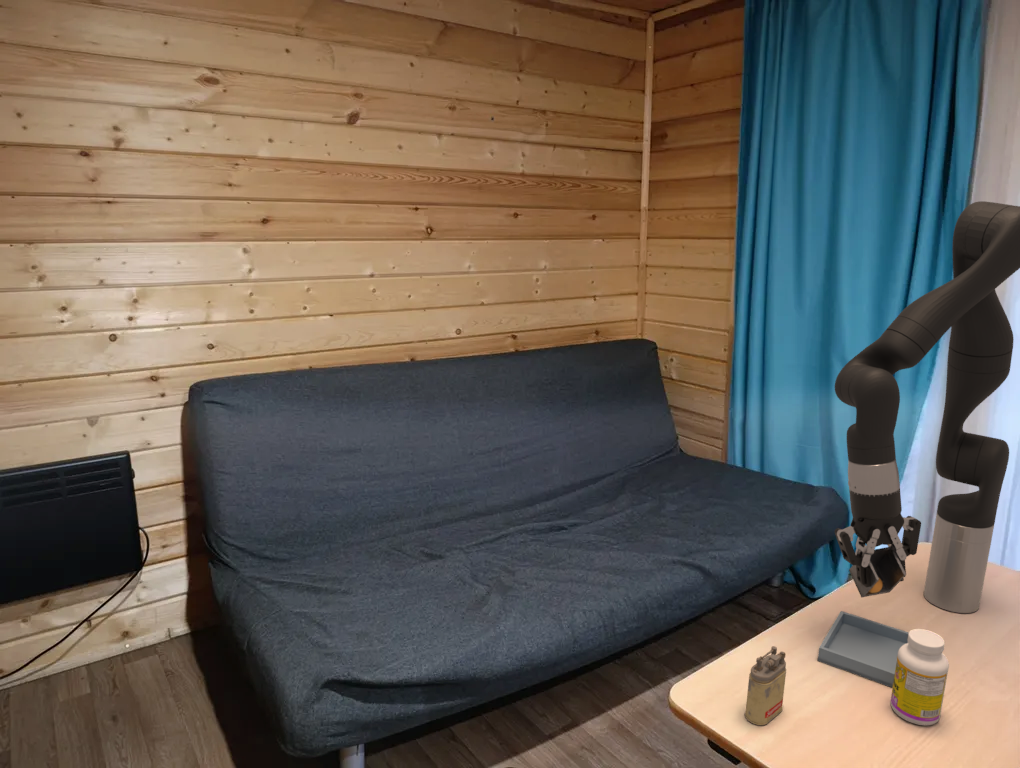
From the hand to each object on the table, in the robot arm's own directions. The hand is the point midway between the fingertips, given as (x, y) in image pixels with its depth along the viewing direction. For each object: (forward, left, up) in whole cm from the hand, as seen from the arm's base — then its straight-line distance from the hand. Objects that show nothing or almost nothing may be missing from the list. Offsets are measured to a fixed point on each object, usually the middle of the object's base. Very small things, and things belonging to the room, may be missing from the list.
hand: (882, 581), depth 124 cm
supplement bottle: (+14, +9, -13) cm, 21 cm away
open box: (-3, -2, -2) cm, 5 cm away
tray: (+3, 0, -13) cm, 13 cm away
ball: (-1, -1, -1) cm, 2 cm away
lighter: (+28, -9, -13) cm, 32 cm away
